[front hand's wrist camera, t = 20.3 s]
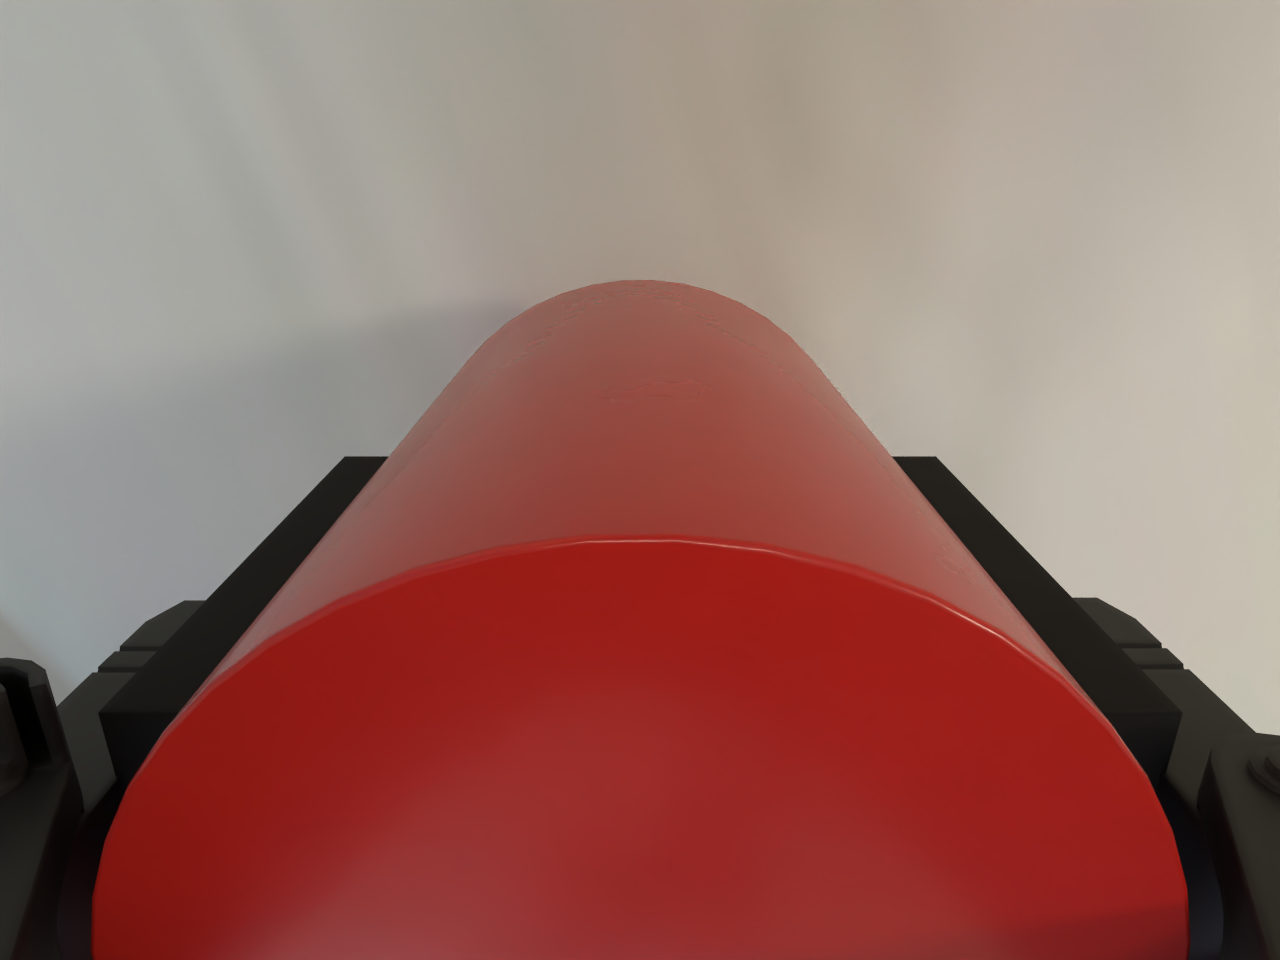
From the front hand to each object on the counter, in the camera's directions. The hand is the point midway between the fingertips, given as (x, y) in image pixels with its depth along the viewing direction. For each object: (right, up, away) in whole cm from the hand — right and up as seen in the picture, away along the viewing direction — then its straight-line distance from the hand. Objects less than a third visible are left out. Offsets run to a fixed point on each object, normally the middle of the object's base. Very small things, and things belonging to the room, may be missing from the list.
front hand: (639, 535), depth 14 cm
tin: (0, +1, +2) cm, 2 cm away
